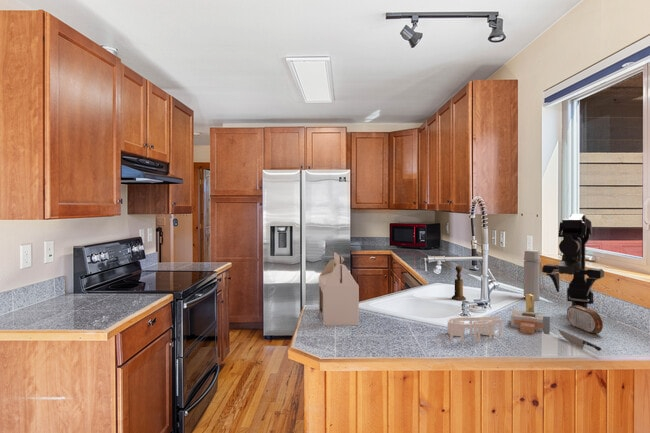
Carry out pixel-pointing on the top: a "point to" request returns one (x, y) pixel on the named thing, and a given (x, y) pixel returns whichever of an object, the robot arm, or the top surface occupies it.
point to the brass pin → (530, 303)
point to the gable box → (338, 294)
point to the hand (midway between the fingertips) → (571, 293)
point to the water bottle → (532, 273)
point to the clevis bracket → (527, 321)
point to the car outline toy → (474, 326)
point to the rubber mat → (546, 325)
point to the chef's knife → (577, 340)
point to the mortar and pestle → (458, 286)
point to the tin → (584, 319)
